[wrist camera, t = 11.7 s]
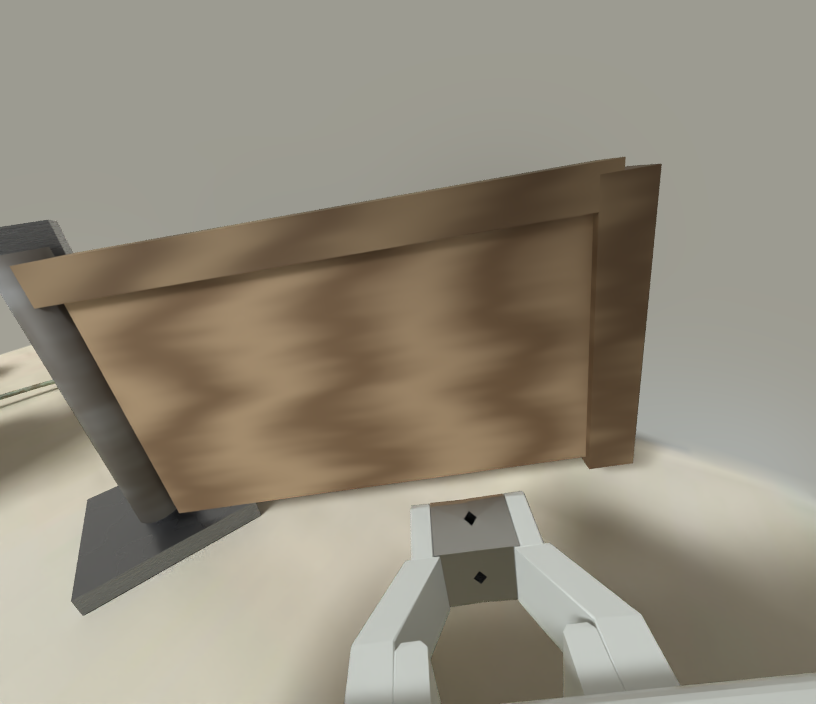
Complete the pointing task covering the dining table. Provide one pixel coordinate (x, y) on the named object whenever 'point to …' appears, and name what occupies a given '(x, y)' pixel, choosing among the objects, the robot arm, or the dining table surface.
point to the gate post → (111, 512)
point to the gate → (356, 339)
